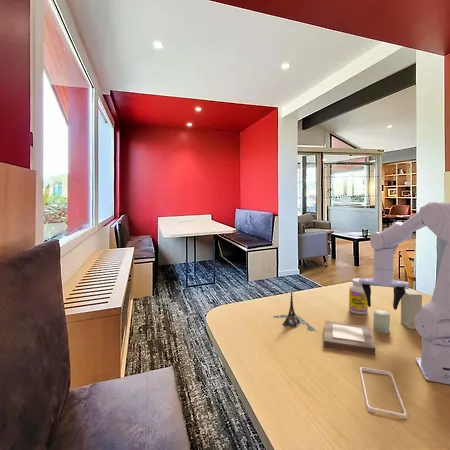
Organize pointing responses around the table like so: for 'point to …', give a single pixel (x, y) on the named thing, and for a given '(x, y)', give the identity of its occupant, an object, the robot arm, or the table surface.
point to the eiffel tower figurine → (293, 318)
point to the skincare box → (410, 307)
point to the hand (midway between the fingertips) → (381, 307)
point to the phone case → (395, 390)
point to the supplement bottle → (357, 298)
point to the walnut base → (348, 337)
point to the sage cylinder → (381, 321)
